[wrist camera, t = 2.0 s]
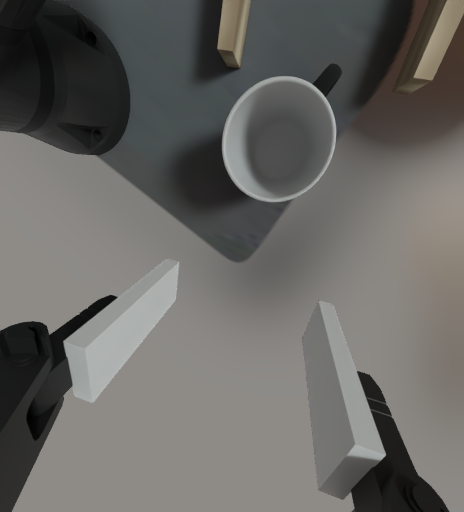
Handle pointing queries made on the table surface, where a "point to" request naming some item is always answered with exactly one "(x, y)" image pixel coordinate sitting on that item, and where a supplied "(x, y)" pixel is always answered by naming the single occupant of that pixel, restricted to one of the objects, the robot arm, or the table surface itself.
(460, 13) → the bay
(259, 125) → the mug
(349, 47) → the table surface
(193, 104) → the table surface
